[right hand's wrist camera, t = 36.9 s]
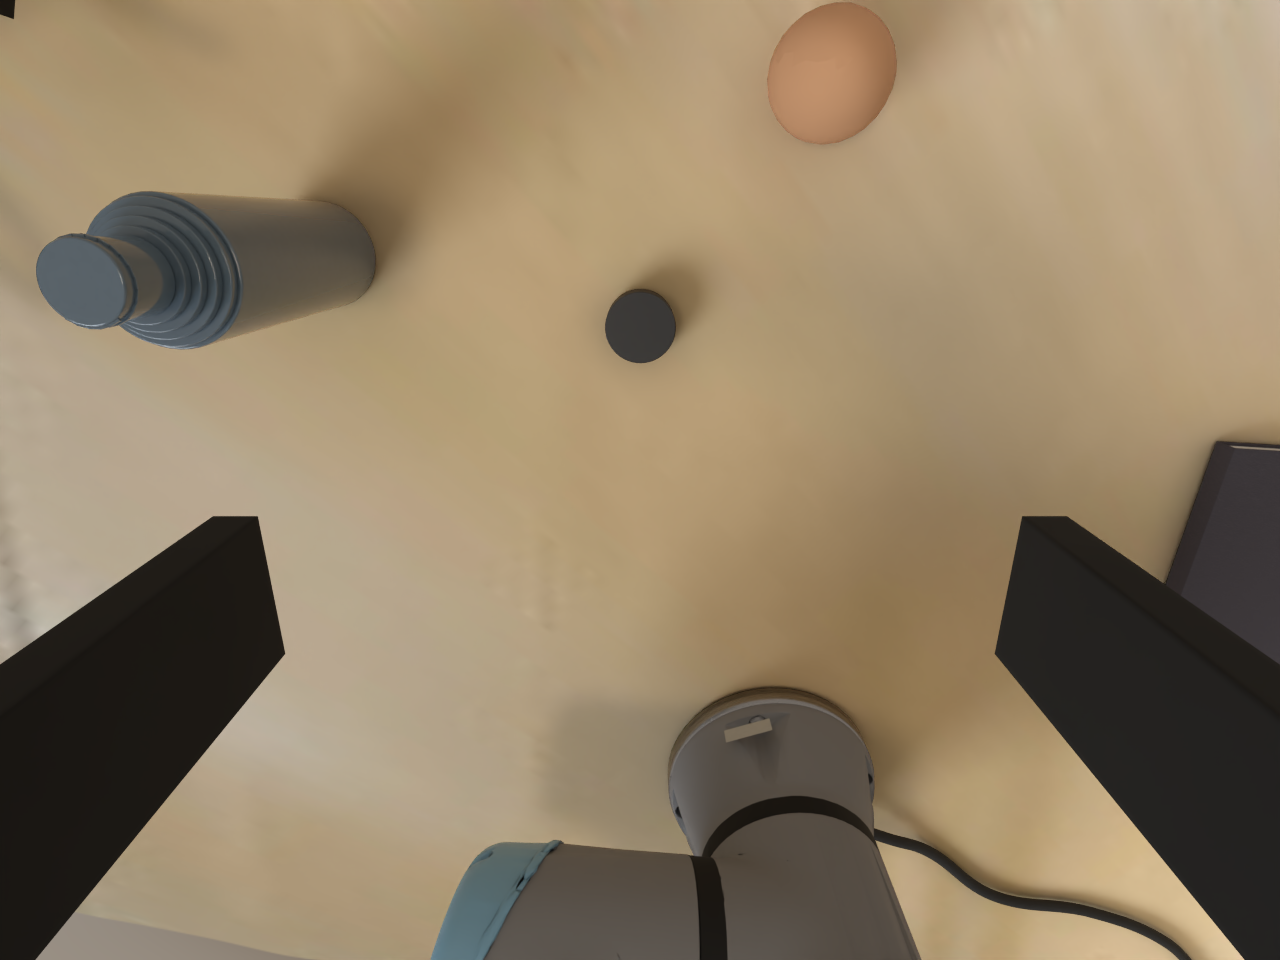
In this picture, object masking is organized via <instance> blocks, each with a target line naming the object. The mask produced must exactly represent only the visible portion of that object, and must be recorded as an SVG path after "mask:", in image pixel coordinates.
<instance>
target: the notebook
mask: <svg viewBox="0 0 1280 960" xmlns="http://www.w3.org/2000/svg"><path fill="white" fill-rule="evenodd" d="M1166 586H1168V587H1169V588H1171V589H1172V590H1173V591H1175V592H1176V593H1178V594H1179V595H1181V596H1182V597H1184V598H1185V599H1186V600H1188V601H1189V602H1191V603H1192V604H1194V605H1195V606H1196V607H1198V608H1199V609H1201V610H1202V611H1204V612H1205V613H1207V614H1208V615H1209V616H1211V617H1212V618H1214V619H1215V620H1217V621H1218V622H1219V623H1221V624H1222V625H1224V626H1225V627H1227V628H1228V629H1229V630H1231V631H1232V632H1234V633H1235V634H1237V635H1238V636H1240V637H1241V638H1242V639H1244V640H1245V641H1247V642H1248V643H1250V644H1251V645H1252V646H1254V647H1255V648H1257V649H1258V650H1260V651H1261V652H1263V653H1264V654H1265V655H1267V656H1268V657H1270V658H1271V659H1273V660H1274V661H1275V662H1277V663H1278V664H1280V445H1268V444H1251V443H1235V442H1219V441H1217V442H1216V444H1215V447H1214V450H1213V453H1212V456H1211V458H1210V461H1209V464H1208V467H1207V470H1206V472H1205V475H1204V478H1203V481H1202V484H1201V486H1200V489H1199V492H1198V495H1197V498H1196V500H1195V503H1194V506H1193V509H1192V512H1191V514H1190V517H1189V520H1188V523H1187V526H1186V529H1185V531H1184V534H1183V537H1182V540H1181V543H1180V545H1179V548H1178V551H1177V554H1176V557H1175V559H1174V562H1173V565H1172V568H1171V571H1170V573H1169V576H1168V579H1167V582H1166Z"/></svg>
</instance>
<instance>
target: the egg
mask: <svg viewBox="0 0 1280 960" xmlns="http://www.w3.org/2000/svg"><path fill="white" fill-rule="evenodd" d="M896 62H897V61H896V52H895V45H894V42H893V40H892V37H891V35H890V32H889V30H888V28H887V27H886V26H885V24H884V23H883V22H882V20H881V19H880V18H879V17H878V16H877V15H876V14H874V13H873V12H872V11H870V10H868V9H867V8H864V7H862V6H859V5H856V4H853V3H832V4H827V5H823V6H820V7H818V8H816V9H814V10H812V11H810V12H808V13H806V14H804V15H803V16H802V17H801V18H800V19H798V20H797V21H796V22H795V23H794V24H793V25H792V26H791V27H790V28H789V29H788V30H787V31H786V33H785V34H784V35H783V36H782V38H781V40H780V42H779V43H778V45H777V47H776V48H775V51H774V54H773V56H772V59H771V62H770V67H769V73H768V79H767V81H768V96H769V101H770V105H771V107H772V110H773V112H774V114H775V116H776V118H777V120H778V121H779V123H780V124H781V125H782V126H783V127H784V128H785V130H786V131H787V132H789V133H790V134H792V135H793V136H794V137H796V138H798V139H800V140H802V141H805V142H810V143H816V144H829V143H836V142H840V141H842V140H845V139H847V138H849V137H852V136H854V135H855V134H857V133H858V132H860V131H862V130H863V129H864V128H865V127H867V126H868V125H869V124H870V123H871V122H872V121H873V120H874V119H875V118H876V117H877V115H878V114H879V112H880V111H881V109H882V108H883V106H884V105H885V103H886V101H887V99H888V97H889V95H890V93H891V91H892V88H893V84H894V80H895V75H896Z"/></svg>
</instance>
